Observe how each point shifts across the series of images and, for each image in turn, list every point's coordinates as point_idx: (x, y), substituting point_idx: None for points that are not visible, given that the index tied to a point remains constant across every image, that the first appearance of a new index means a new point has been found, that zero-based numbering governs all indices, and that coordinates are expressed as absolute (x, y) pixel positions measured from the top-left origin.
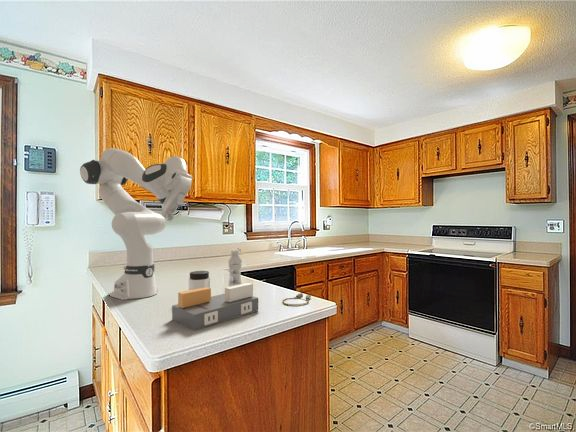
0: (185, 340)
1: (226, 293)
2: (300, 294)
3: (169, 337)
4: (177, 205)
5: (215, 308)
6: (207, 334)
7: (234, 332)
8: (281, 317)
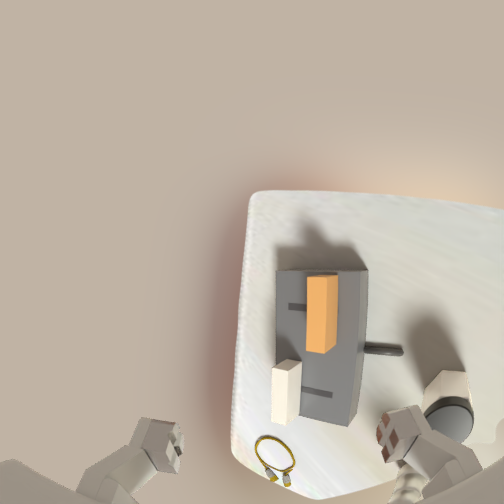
0: (267, 240)
1: (288, 366)
2: (283, 480)
3: (292, 227)
4: (174, 422)
5: (278, 317)
6: (264, 274)
7: (246, 304)
8: (243, 386)
